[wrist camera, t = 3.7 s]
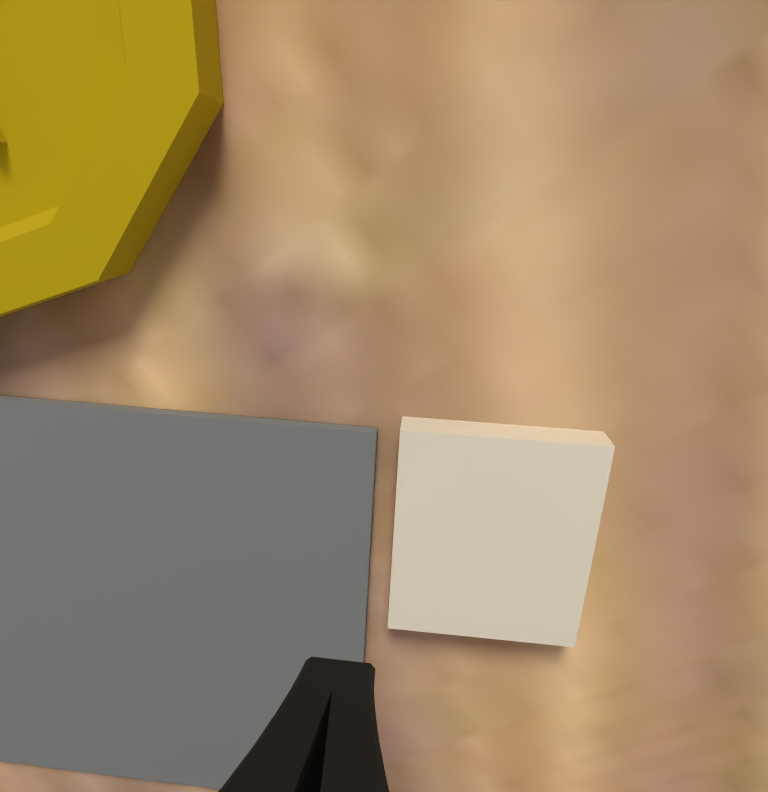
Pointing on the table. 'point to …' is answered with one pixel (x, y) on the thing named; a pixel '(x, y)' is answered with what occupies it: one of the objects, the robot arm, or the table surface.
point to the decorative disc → (95, 133)
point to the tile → (495, 528)
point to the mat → (171, 580)
